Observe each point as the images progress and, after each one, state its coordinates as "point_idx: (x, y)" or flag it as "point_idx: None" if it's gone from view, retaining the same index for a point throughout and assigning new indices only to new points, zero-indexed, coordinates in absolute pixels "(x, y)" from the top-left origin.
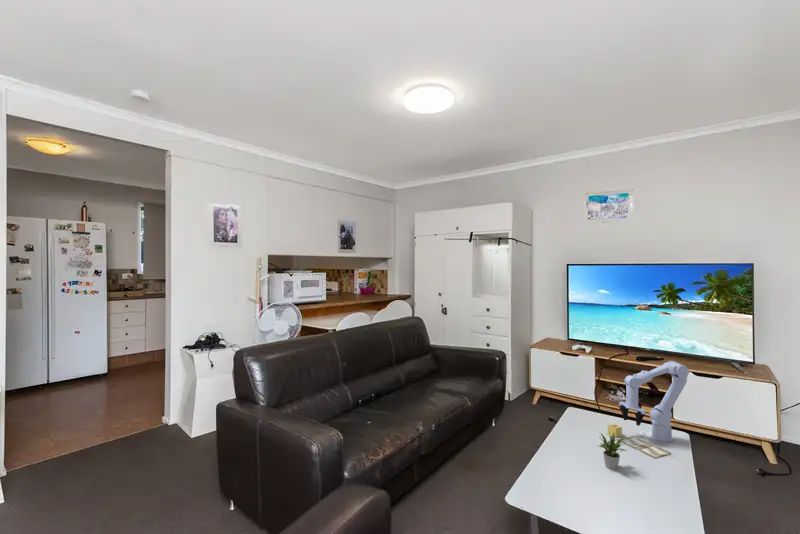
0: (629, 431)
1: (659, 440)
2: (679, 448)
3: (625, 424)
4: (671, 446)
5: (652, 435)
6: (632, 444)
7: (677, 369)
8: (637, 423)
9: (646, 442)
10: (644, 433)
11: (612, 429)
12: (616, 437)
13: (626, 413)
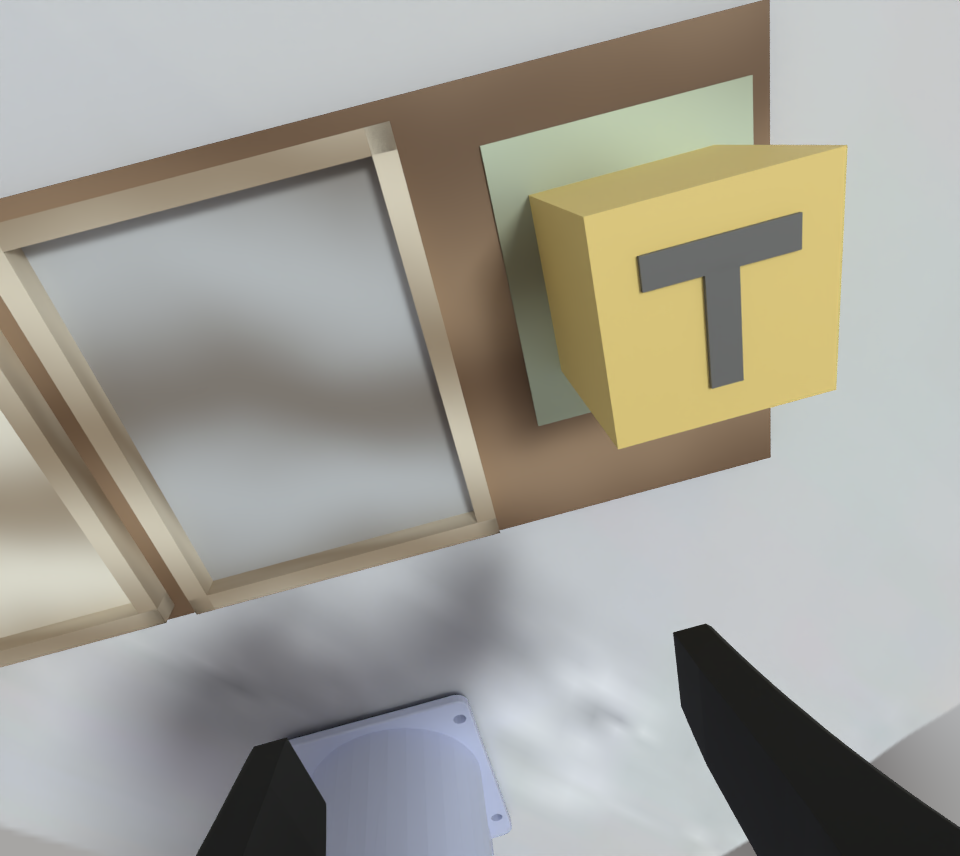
0: (689, 589)
1: (326, 762)
2: (154, 834)
3: (866, 654)
4: (206, 793)
5: (422, 762)
6: (191, 325)
7: None
8: (221, 814)
9: (236, 585)
10: (585, 715)
11: (656, 184)
12: (519, 212)
13: None
